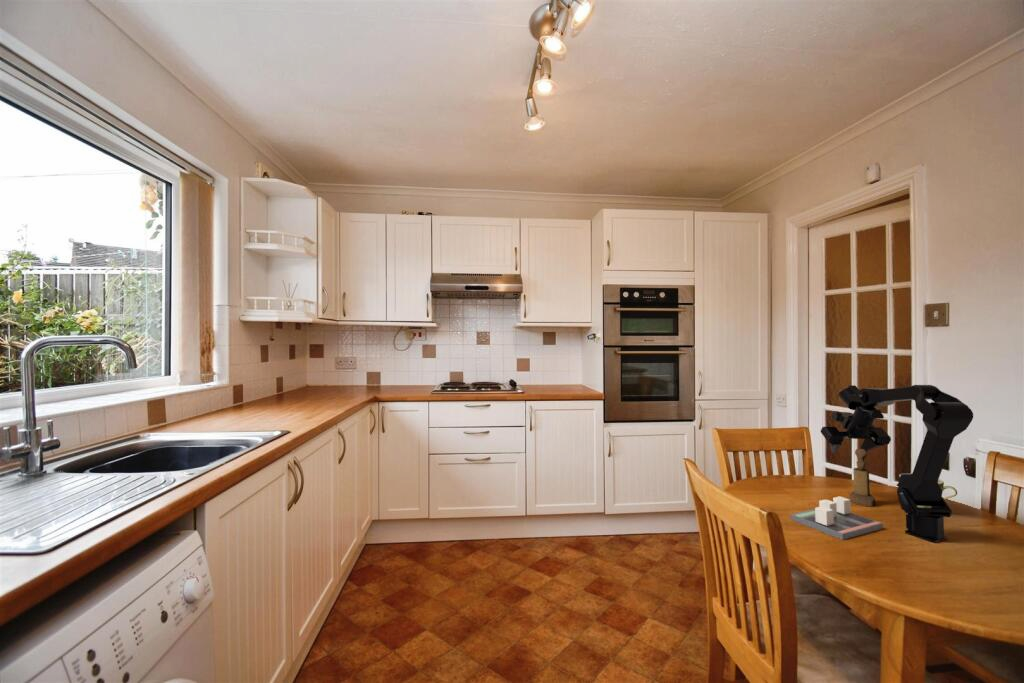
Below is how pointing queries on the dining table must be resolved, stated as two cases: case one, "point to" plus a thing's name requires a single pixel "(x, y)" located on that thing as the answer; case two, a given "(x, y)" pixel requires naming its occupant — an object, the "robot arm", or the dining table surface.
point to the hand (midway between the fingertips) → (846, 452)
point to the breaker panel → (839, 524)
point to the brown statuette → (861, 482)
